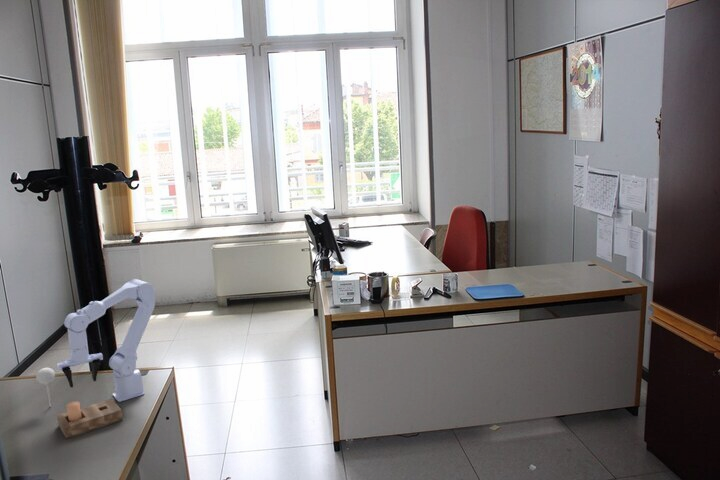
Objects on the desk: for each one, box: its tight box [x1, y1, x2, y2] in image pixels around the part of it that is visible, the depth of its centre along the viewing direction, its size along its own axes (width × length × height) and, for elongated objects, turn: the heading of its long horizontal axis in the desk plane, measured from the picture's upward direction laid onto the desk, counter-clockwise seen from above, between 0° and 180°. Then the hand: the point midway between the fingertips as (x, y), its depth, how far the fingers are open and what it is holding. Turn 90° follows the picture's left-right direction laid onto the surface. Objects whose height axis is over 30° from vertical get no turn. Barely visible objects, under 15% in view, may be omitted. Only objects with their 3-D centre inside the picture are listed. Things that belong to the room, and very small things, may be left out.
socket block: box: [56, 398, 124, 440], centre depth 205 cm, size 18×11×4 cm, turn 128°
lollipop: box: [35, 367, 56, 408], centre depth 216 cm, size 6×6×15 cm
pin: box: [65, 400, 82, 422], centre depth 201 cm, size 4×4×8 cm
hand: (83, 383), depth 212 cm, fingers open, 7 cm apart
